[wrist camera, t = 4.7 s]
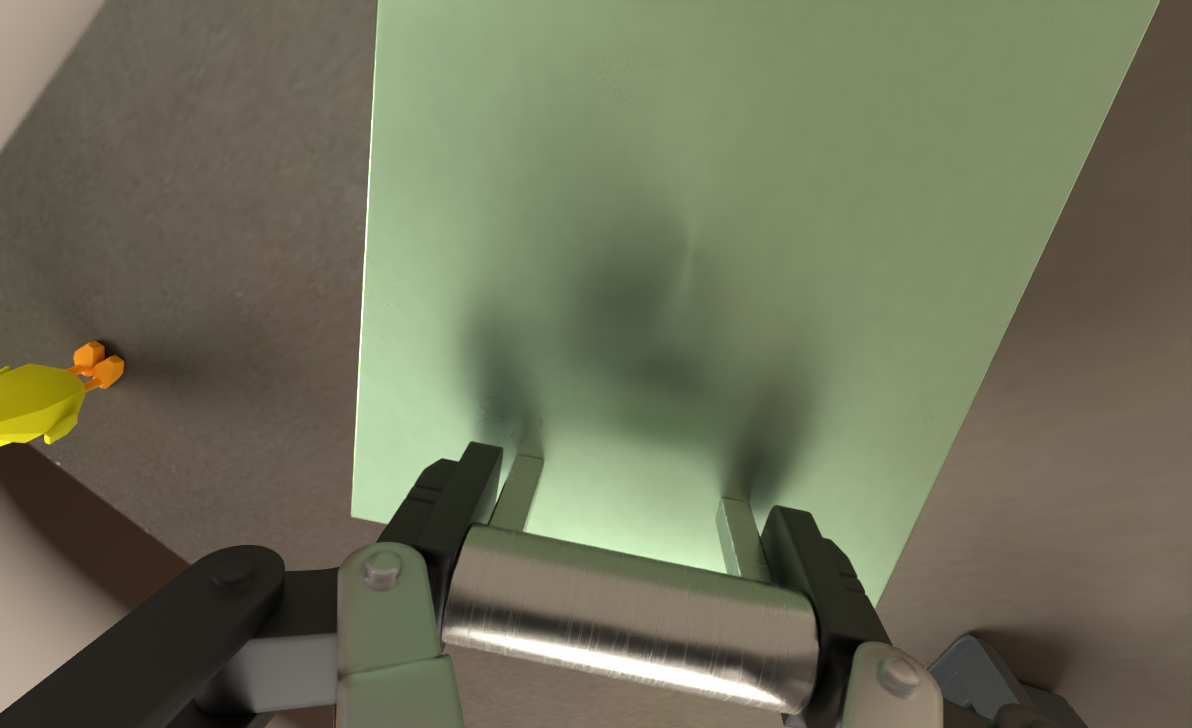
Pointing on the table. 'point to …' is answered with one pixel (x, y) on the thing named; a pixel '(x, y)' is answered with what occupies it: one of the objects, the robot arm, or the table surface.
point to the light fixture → (992, 683)
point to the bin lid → (701, 294)
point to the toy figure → (51, 394)
